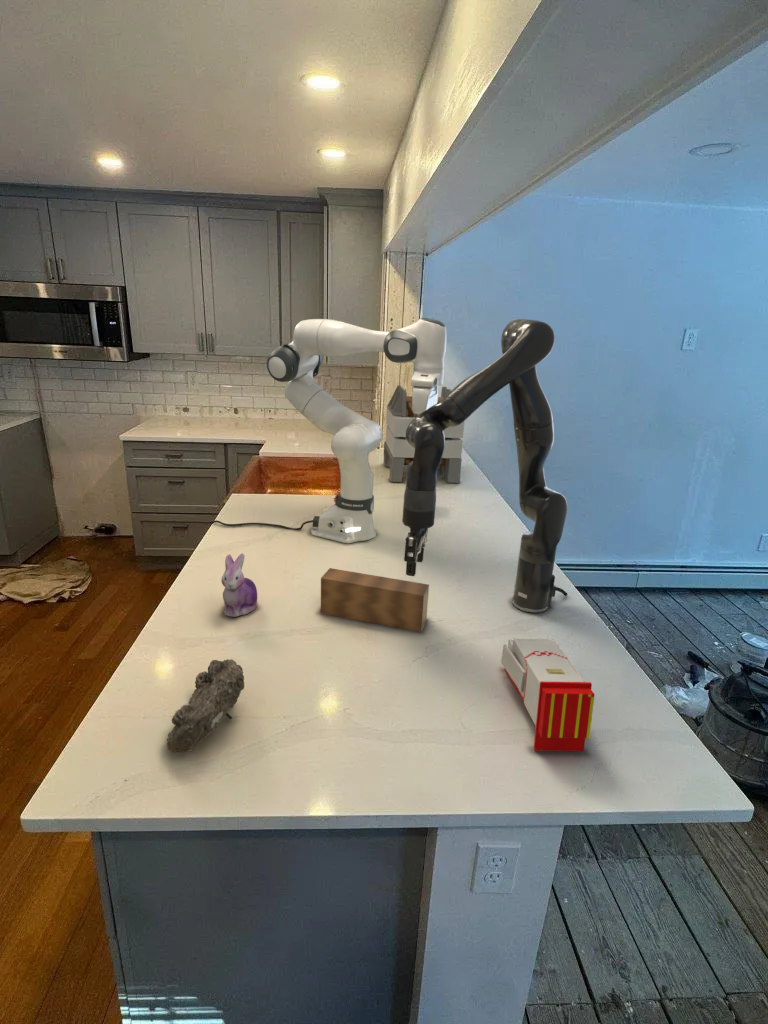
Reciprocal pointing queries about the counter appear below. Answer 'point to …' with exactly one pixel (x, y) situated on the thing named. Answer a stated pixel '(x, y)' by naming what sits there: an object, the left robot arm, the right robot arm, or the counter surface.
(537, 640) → the toy
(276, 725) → the counter surface
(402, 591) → the box
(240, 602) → the figurine
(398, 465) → the grey boxy stand
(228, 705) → the fossil
